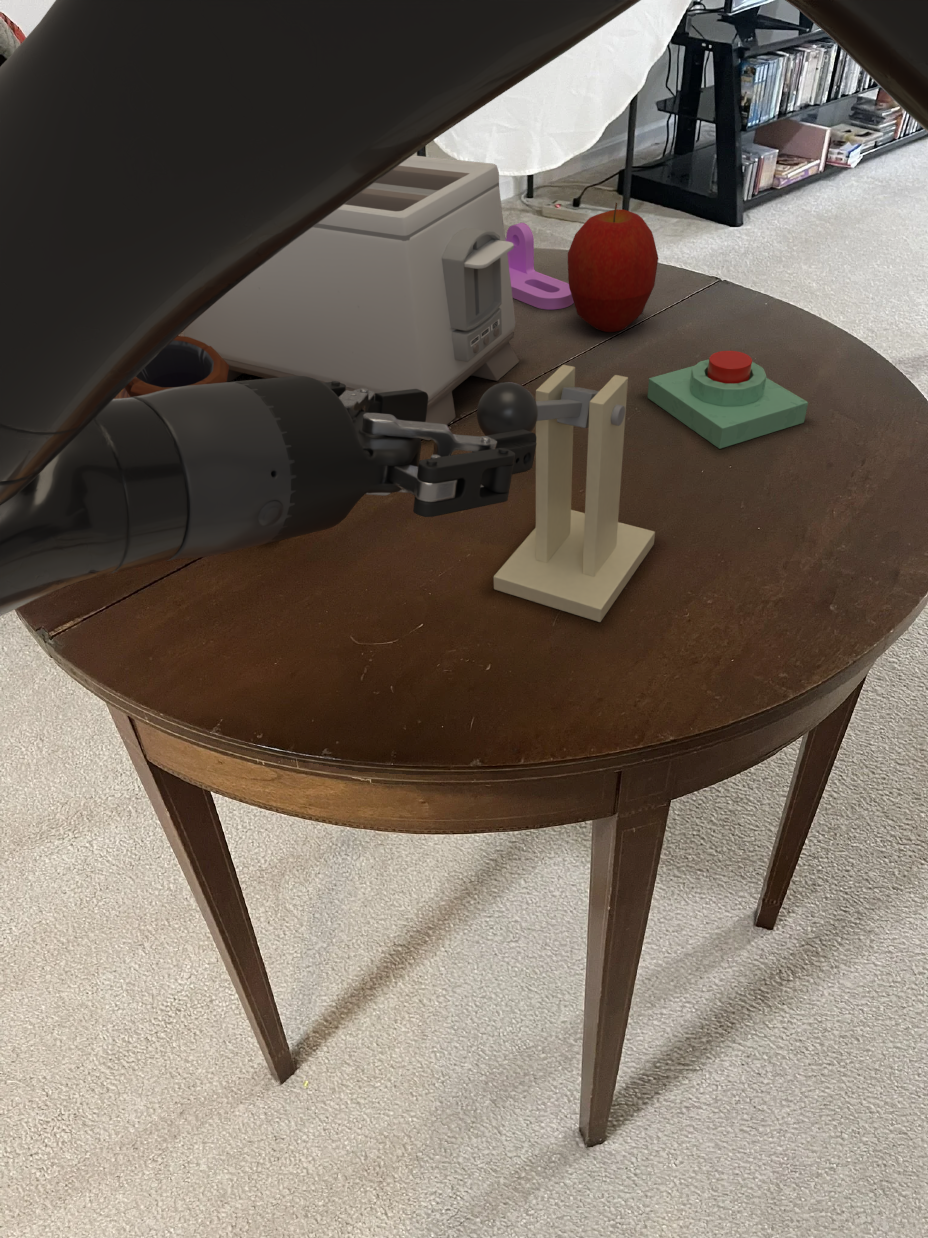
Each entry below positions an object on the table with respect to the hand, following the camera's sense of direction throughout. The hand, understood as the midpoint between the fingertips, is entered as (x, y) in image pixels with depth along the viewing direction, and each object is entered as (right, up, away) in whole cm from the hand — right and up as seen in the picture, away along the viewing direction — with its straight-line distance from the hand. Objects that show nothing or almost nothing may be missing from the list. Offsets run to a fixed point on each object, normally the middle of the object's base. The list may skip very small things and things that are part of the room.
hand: (473, 427), depth 54 cm
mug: (-21, -3, +28) cm, 35 cm away
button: (+25, +12, +36) cm, 46 cm away
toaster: (-11, +16, +49) cm, 53 cm away
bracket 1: (+8, +30, +64) cm, 72 cm away
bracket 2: (+8, -7, +20) cm, 23 cm away
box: (+25, +10, +39) cm, 47 cm away
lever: (+4, +1, +7) cm, 8 cm away
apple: (+17, +23, +56) cm, 62 cm away
